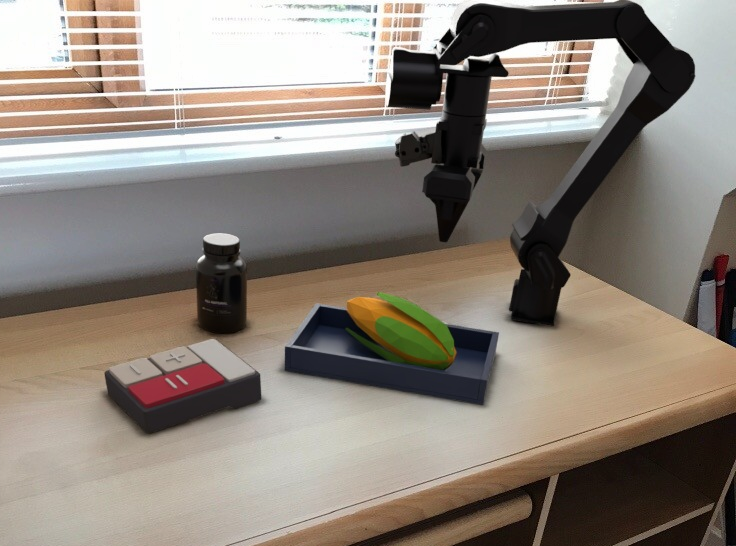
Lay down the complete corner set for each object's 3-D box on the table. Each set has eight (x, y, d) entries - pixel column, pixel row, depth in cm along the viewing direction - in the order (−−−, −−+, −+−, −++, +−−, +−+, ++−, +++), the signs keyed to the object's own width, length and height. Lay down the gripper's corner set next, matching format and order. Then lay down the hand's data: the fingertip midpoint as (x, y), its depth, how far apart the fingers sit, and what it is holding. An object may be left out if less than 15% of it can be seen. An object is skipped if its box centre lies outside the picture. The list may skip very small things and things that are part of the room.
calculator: (101, 365, 99) (215, 332, 106) (107, 397, 101) (217, 363, 108) (143, 406, 92) (261, 368, 99) (148, 439, 94) (263, 400, 102)
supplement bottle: (207, 337, 115) (204, 250, 107) (191, 317, 119) (186, 232, 112) (254, 330, 117) (254, 244, 110) (236, 311, 122) (235, 228, 115)
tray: (495, 355, 116) (499, 332, 114) (482, 405, 104) (487, 380, 102) (315, 325, 120) (316, 303, 118) (284, 370, 108) (284, 346, 106)
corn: (433, 336, 100) (327, 278, 112) (423, 393, 105) (322, 331, 116) (475, 324, 104) (369, 269, 116) (464, 380, 109) (362, 322, 120)
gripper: (416, 92, 119) (404, 205, 128) (389, 118, 104) (378, 244, 113) (495, 101, 117) (477, 215, 126) (479, 130, 102) (460, 256, 112)
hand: (448, 231), depth 120 cm, fingers open, 9 cm apart
